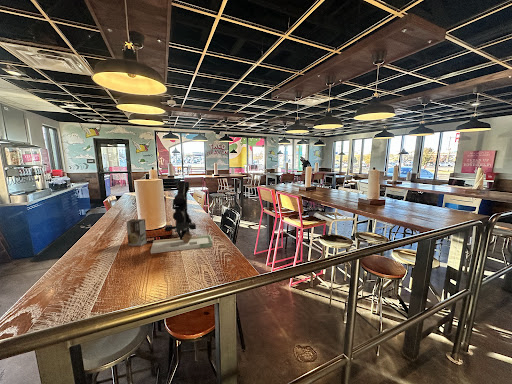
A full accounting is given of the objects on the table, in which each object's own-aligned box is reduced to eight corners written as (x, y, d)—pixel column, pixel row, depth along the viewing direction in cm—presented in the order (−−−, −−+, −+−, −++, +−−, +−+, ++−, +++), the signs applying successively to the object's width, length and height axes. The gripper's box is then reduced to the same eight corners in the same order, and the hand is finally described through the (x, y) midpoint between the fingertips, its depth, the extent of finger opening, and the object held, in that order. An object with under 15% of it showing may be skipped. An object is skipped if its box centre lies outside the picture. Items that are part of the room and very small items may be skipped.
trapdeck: (153, 245, 135) (153, 240, 134) (210, 239, 146) (210, 234, 146) (150, 253, 124) (150, 247, 123) (212, 246, 135) (212, 240, 134)
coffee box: (147, 242, 141) (145, 219, 139) (141, 246, 135) (139, 221, 132) (134, 241, 142) (132, 218, 140) (127, 245, 135) (125, 221, 133)
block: (183, 237, 138) (186, 231, 138) (189, 240, 139) (192, 234, 138) (181, 239, 133) (184, 233, 133) (188, 243, 134) (191, 237, 134)
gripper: (163, 221, 124) (164, 246, 126) (195, 218, 130) (196, 242, 132) (165, 216, 134) (166, 239, 136) (195, 214, 140) (195, 236, 142)
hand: (181, 239), depth 136 cm, fingers closed
